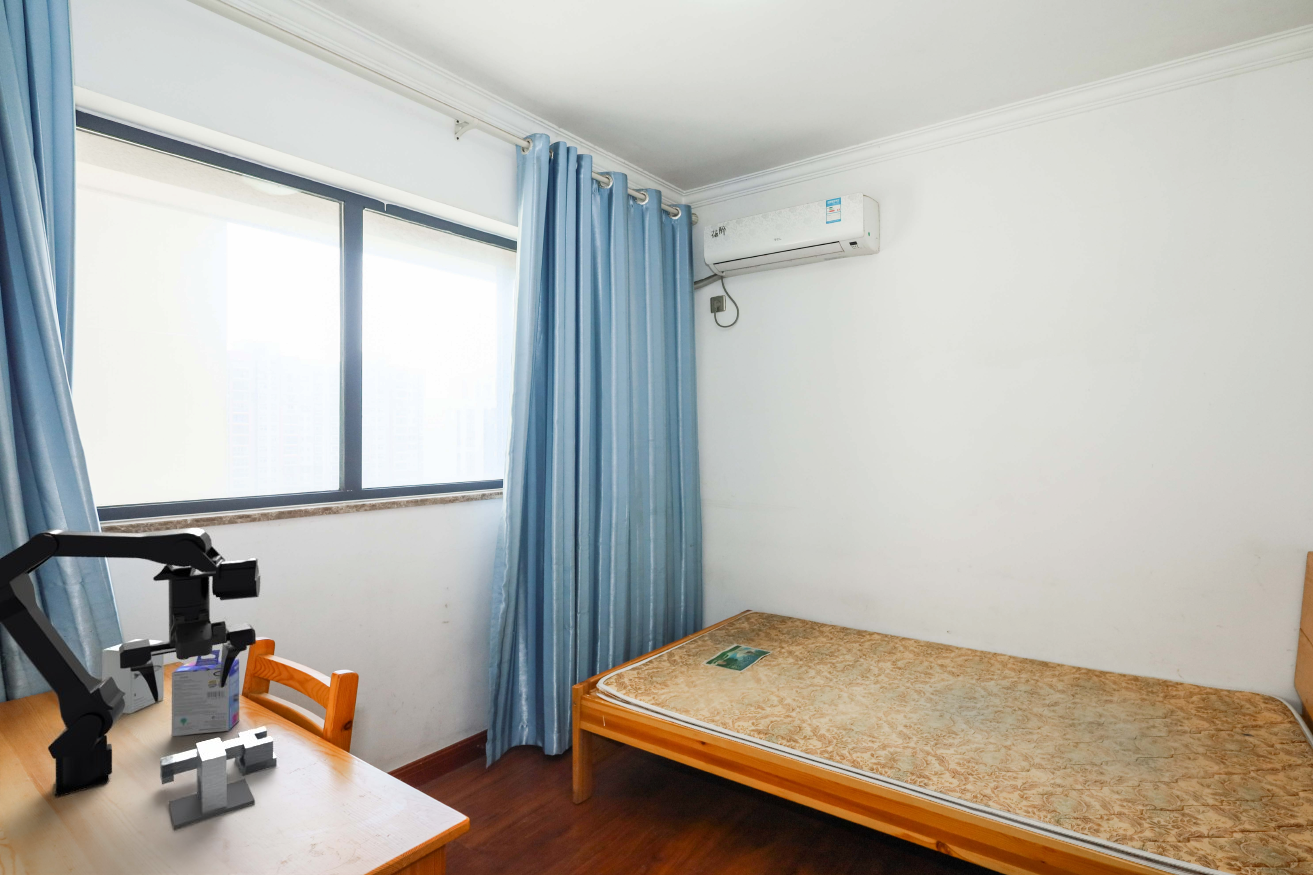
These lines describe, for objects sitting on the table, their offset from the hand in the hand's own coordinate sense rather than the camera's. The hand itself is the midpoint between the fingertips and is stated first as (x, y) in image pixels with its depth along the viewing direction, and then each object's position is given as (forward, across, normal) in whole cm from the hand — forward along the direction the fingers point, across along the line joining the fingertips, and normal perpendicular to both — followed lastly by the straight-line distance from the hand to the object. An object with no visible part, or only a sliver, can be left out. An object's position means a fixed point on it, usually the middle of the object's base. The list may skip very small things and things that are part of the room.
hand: (190, 693), depth 113 cm
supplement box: (+12, -6, +36) cm, 38 cm away
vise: (+12, +3, -7) cm, 14 cm away
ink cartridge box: (+12, +4, +14) cm, 19 cm away
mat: (+12, +1, -17) cm, 21 cm away
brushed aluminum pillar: (+7, +1, -17) cm, 18 cm away
